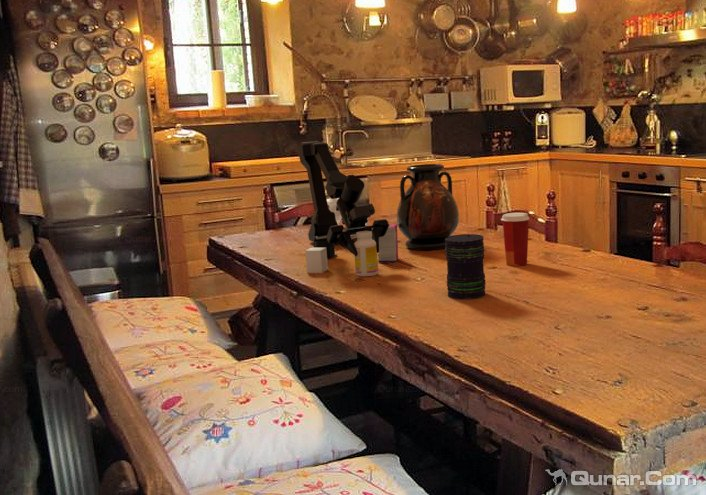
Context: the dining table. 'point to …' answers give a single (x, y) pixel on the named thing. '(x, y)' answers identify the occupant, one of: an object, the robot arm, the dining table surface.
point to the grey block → (316, 260)
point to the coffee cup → (516, 238)
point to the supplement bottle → (366, 254)
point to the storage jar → (465, 266)
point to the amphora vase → (427, 208)
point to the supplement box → (388, 246)
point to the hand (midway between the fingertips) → (367, 253)
